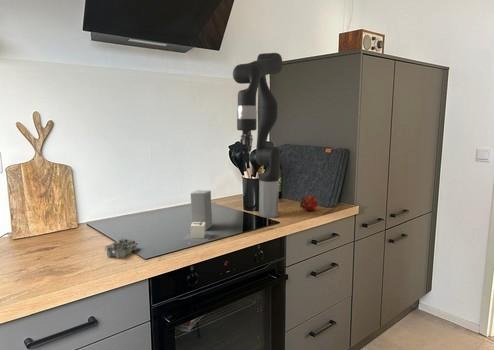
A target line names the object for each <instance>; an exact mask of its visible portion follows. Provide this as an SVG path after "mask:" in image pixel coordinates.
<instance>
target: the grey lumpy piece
mask: <svg viewBox="0 0 494 350" xmlns="http://www.w3.org/2000/svg"><path fill="white" fill-rule="evenodd" d="M138 245H139V241H135V240H134V239H129V238H127V239H126V238H125V237H121V239H120V238H119V240H117V241H114V242H113V243H111V244H109V245H106V246H104V248H103V249H104V251H106V256H107V257H108V258H112V257H115V258H116V259H120V258H125V257H126V255H130V254H131V253H132V251H133V250H135V251H137V247H138Z"/></svg>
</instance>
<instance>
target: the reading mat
mask: <svg viewBox="0 0 494 350" xmlns="http://www.w3.org/2000/svg"><path fill="white" fill-rule="evenodd" d="M214 234H215V233H214V232H205V237H204V238H191V231H189V233H187V234H186V235H185V236H184V237H183V238H182V239H181V240H183V241H196V242H197V241H198V242H207V241H208V240H209V239H210V238H211V237H212V236H213V235H214Z"/></svg>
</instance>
